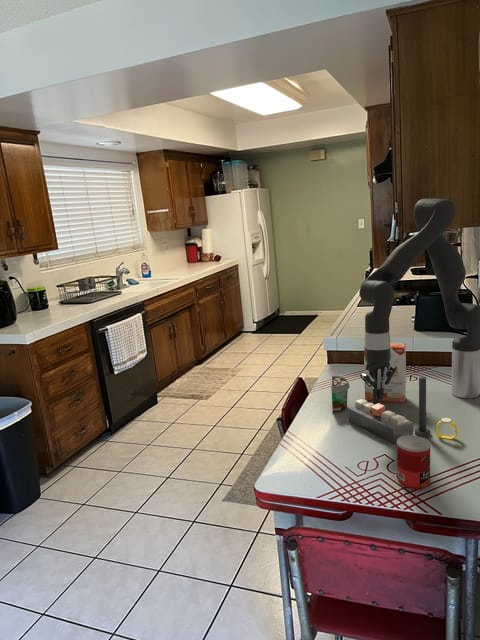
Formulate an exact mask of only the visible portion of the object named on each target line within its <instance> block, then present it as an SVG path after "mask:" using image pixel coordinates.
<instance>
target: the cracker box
mask: <svg viewBox="0 0 480 640" xmlns="http://www.w3.org/2000/svg"><path fill="white" fill-rule="evenodd" d="M390 347H391V360H390V361H389V362H390V366H392V367H395V368H396V370H395V372H394V374H393V376H392V378H391V380H390V382H389V384H388V385H385V387H384V396H383V399H381V400H379V402H388V403H400V404H401V403H402V404H405V402H406V396H407V395H406V393H407V384H406V383H407V382H406V381H407V375H406V374H407V372H406V371H407V366H406V365H407V362H406V361H407V359H406V356H407V355H406V352H407V351H406V349H407V348H406V347H407V345H406V343H405V342H404V343H403V342H390ZM363 355H364V356H363V358H364V359H363V361H364V362H363V364H364V365H363V366H364V372H365V371H366V366H367V362H366V360H365V345H364V346H363ZM364 372H363V373H364ZM387 378H388V377H387ZM387 378H386V380H387ZM364 400H366V401H371V402H373V388H371V387H368V386H367V384H366V383H365V382H364Z"/></svg>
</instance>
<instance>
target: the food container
mask: <svg viewBox="0 0 480 640" xmlns="http://www.w3.org/2000/svg"><path fill="white" fill-rule="evenodd" d="M350 386H351V385H350V383H349V380H348V379H347V378H346V377H343V376H339V375H331V386H330V388H331V405H332V406H331V407H332V413H333V414H336V413H341V412H345V411H346V410H348V396H349V395H348V392H349V391H348V390H349V389H350Z"/></svg>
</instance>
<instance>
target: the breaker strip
mask: <svg viewBox="0 0 480 640" xmlns="http://www.w3.org/2000/svg"><path fill="white" fill-rule="evenodd" d="M368 401H369V400H365V399H363V398H362V399H361V398H360V399H358V400H355V401H354V405H353V406H351V407H347V414H348V415H347V416H348V423H349V424H352V425H353V426H356V427H357V428H360V429H361V430H364V431H365V432H367V433H369V434H371V435H373V436H374V437H377V438H379V439H381V440H383V441H384V442H387V443H389V444H390V445H392V446H395V445H397V439H398V438H400V437H402V436H408V435H412V436H414V422H413V421H411V420H408V419H406V417H405V416H402V415H400V414H396V412H393V411H391V410H386V409H385V412H382V413H381V415H380V416H379V417H378V416H376V415H374V414H372V410H371V407H372V406H374V405H375V404H373V402H368Z"/></svg>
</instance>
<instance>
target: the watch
mask: <svg viewBox="0 0 480 640" xmlns="http://www.w3.org/2000/svg"><path fill="white" fill-rule="evenodd" d="M440 424H444V425H445V424H447V425H448V424H449V425H451V426H453V428H454V429H455V434H454V435H453V436H447V435H442V433H440V431H439V429H438V427H439V425H440ZM434 430H435V433H436V435H437V436H438V437H439V438H440V439H444V440H445V439H446V440H454V439H455V438H456V437H457V436H458V433H459V432H458V431H459V428H458V426H457V424H456V423H455V422H453V420H452V419H451V418H448V417H442V418H441V420H439V421H437V423H436V425H435V429H434Z"/></svg>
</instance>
